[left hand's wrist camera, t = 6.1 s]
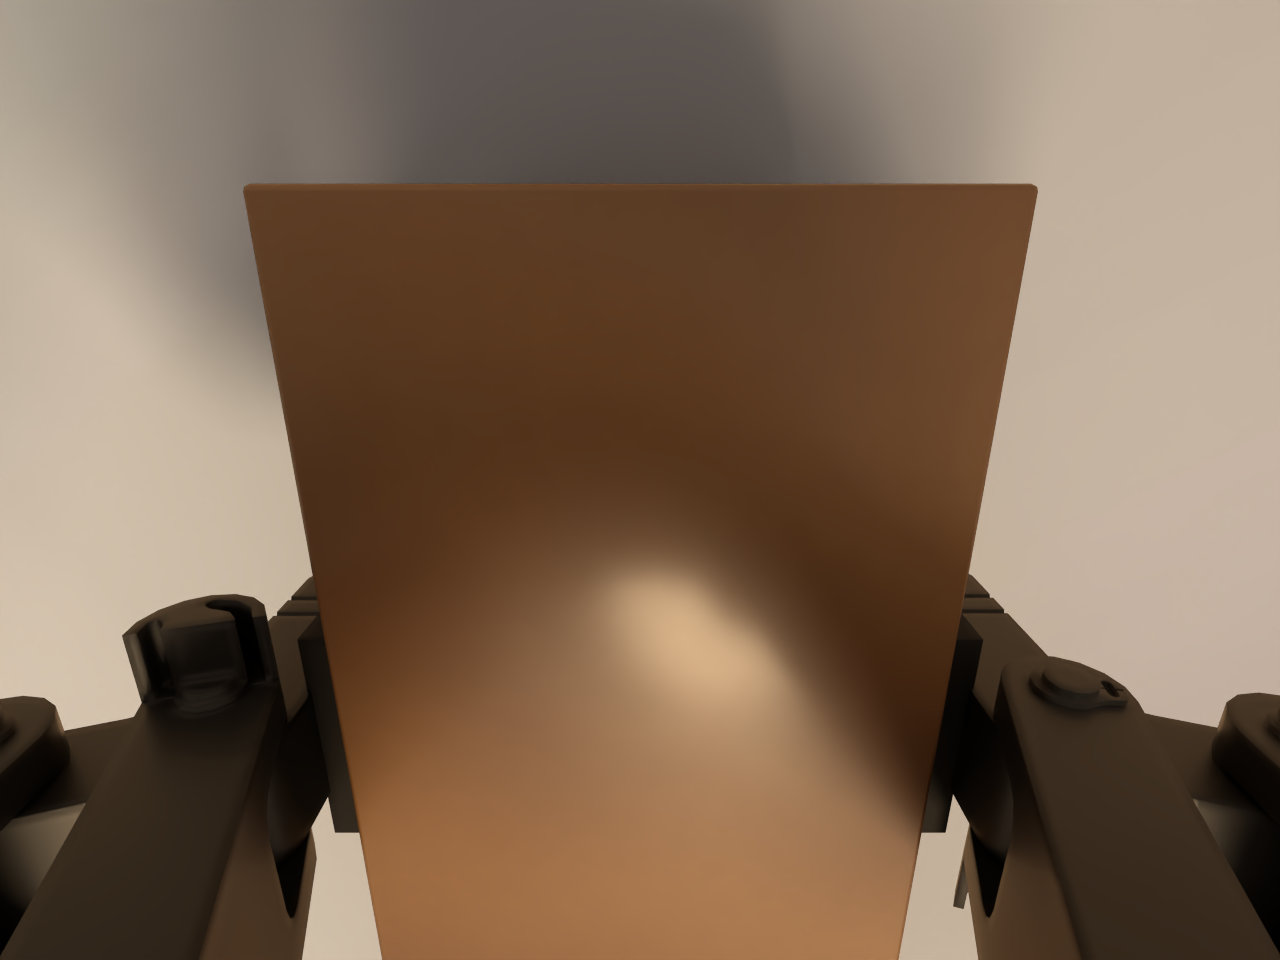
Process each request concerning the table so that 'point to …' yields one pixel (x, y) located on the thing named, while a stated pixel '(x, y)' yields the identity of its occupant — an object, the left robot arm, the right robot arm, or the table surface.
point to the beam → (640, 544)
